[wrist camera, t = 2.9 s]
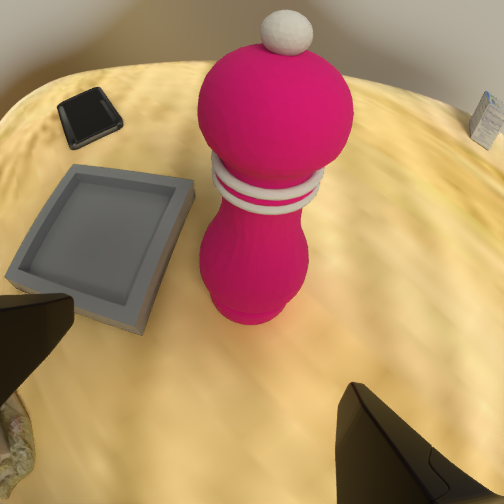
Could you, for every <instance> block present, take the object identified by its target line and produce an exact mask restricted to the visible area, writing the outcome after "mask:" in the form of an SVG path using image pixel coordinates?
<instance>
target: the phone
mask: <svg viewBox="0 0 504 504" xmlns="http://www.w3.org/2000/svg"><path fill="white" fill-rule="evenodd" d="M57 110H58V113H59V116H60V120H61V123H62V126H63V130H64V133H65V136H66V139H67V142H68V145H69V148H70V149H71V150H77V149H79V148H81V147H83V146H85V145H87V144H90V143H92V142H94V141H96V140H98V139H100V138H102V137H104V136H107V135H109V134H111V133H113V132H116V131H118V130H120V129H121V128H122V127H123V125H124V124H123V120H122V118H121V116H120V115H119V114H118V112H117V111H116V109H115V108H114V106H113V105H112V104H111V102H110V101H109V99H108V98H107V96H106V95H105V93H104V92H103V90H102V89H101V88H100V87H94V88H92V89H89V90H87V91H85V92H83V93H80V94H78V95H76V96H74V97H72V98H69V99H67V100H65V101H63V102H61V103H60V104H58V106H57Z"/></svg>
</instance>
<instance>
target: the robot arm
mask: <svg viewBox="0 0 504 504" xmlns="http://www.w3.org/2000/svg"><path fill="white" fill-rule="evenodd" d="M73 322H74V299H73V297H72V296H70V295H68V294H65V293H46V294H24V295H0V408H1V406H2V405H3V404H4V403H5V402H6V401H7V400H8V399H9V397H10V396H11V395H12V394H13V393H14V392H15V391H16V390H17V389H18V387H19V386H20V385H21V384H22V383H23V382H24V381H25V380H26V379H27V378H28V377H29V375H30V374H31V373H32V372H33V371H34V370H35V369H36V368H37V367H38V366H39V365H40V364H41V363H42V362H43V361H44V360H45V359H46V357H47V356H48V355H49V354H50V353H51V352H52V350H53V349H54V348H55V347H56V345H57V344H58V343H59V341H60V340H61V339H62V338H63V336H64V335H65V334H66V333H67V331H68V330H69V329H70V328H71V326H72V325H73ZM335 462H336V486H337V504H504V496H500V495H498V494H495V493H493V492H492V491H490V490H489V489H487V488H486V487H484V486H483V485H482V484H480V483H479V482H477V481H476V480H475V479H473V478H472V477H470V476H469V475H468V474H466V473H465V472H463V471H462V470H461V469H459V468H458V467H457V466H455V465H454V464H453V463H452V462H450V461H449V460H448V459H447V458H446V457H444V456H443V455H442V454H441V453H440V452H439V451H437V450H436V449H435V448H434V447H432V445H431V444H429V443H428V442H427V441H426V440H425V439H424V438H423V437H422V436H420V435H419V434H418V433H417V432H416V431H415V430H414V429H413V428H411V427H410V426H409V425H408V424H407V423H406V422H405V421H404V420H403V419H401V418H400V417H399V416H398V415H397V414H396V413H395V412H394V411H393V410H392V409H390V408H389V407H388V406H387V405H386V404H385V403H384V402H383V401H382V400H381V399H379V398H378V397H377V396H376V395H375V394H374V393H373V392H372V391H371V390H370V389H369V388H367V387H366V386H365V385H364V384H362V383H356V382H351V383H349V385H348V386H347V388H346V390H345V392H344V394H343V396H342V398H341V400H340V402H339V405H338V411H337V428H336V442H335Z"/></svg>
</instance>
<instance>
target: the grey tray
mask: <svg viewBox="0 0 504 504" xmlns="http://www.w3.org/2000/svg"><path fill="white" fill-rule="evenodd" d="M194 198H195V190H194V180H188V179H182V178H176V177H169V176H163V175H156V174H149V173H142V172H135V171H128V170H120V169H112V168H104V167H96V166H87V165H78V164H73V165H72V166H71V168H70V169H69V170H68V172H67V173H66V175H65V176H64V177H63V179H62V180H61V182H60V183H59V184H58V186H57V187H56V189H55V190H54V192H53V193H52V195H51V196H50V198H49V199H48V201H47V202H46V204H45V205H44V207H43V209H42V210H41V212H40V213H39V215H38V217H37V218H36V220H35V221H34V223H33V225H32V226H31V228H30V230H29V232H28V233H27V235H26V237H25V239H24V240H23V242H22V244H21V246H20V248H19V249H18V251H17V253H16V255H15V257H14V259H13V261H12V263H11V265H10V267H9V269H8V271H7V273H6V275H5V278H6V279H7V280H8V281H9V282H10V283H11V284H12V285H13V286H14V287H16V288H17V289H19V290H21V291H24V292H26V293H28V294H46V293H65V294H68V295H70V296H72V297H73V299H74V312H75V313H77V314H80V315H83V316H85V317H88V318H91V319H94V320H97V321H99V322H102V323H105V324H108V325H111V326H114V327H117V328H120V329H123V330H126V331H129V332H132V333H135V334H139V335H143V332H144V329H145V326H146V323H147V320H148V317H149V314H150V312H151V309H152V306H153V303H154V300H155V297H156V295H157V292H158V289H159V286H160V284H161V281H162V278H163V276H164V273H165V270H166V268H167V265H168V262H169V260H170V257H171V255H172V252H173V249H174V247H175V244H176V242H177V239H178V237H179V234H180V232H181V229H182V227H183V224H184V222H185V220H186V217H187V215H188V212H189V210H190V208H191V205H192V203H193V200H194Z"/></svg>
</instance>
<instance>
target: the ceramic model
mask: <svg viewBox="0 0 504 504" xmlns="http://www.w3.org/2000/svg"><path fill="white" fill-rule="evenodd" d="M34 461H35V445H34V438H33V431H32V425H31V422H30V419H29V417H28V415H27V413H26V411H25V410H24V408H23V406H22V404H21V402H20V401H19V399H18V397H17V395H16V393H15V392H14V393H13V394H12V395H11V396H10V397H9V399H8V400H7V401H6V402H5V403H4V404H3V405H2V406H1V408H0V498H2V499H7V498H8V497H9V494H10V492H11V490H12V489H13V487H15V485H16V484H17V483H18V482H19V481H20V480H21V479H23V478H24V477H26V476H27V475H28V474H29V473H30V472H31V471H32V470H33V467H34Z"/></svg>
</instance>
